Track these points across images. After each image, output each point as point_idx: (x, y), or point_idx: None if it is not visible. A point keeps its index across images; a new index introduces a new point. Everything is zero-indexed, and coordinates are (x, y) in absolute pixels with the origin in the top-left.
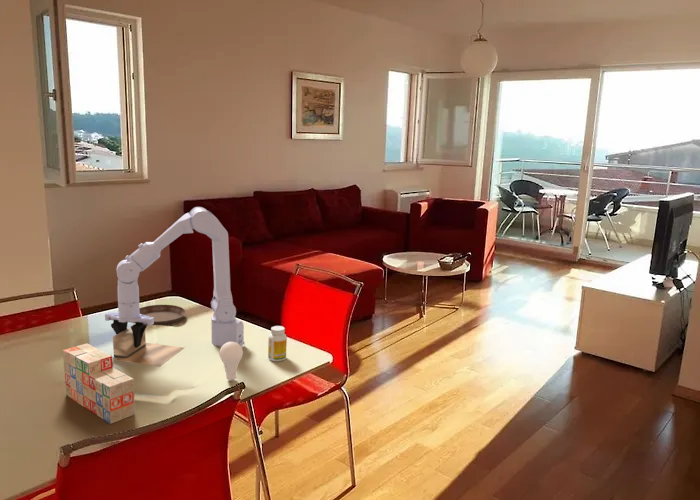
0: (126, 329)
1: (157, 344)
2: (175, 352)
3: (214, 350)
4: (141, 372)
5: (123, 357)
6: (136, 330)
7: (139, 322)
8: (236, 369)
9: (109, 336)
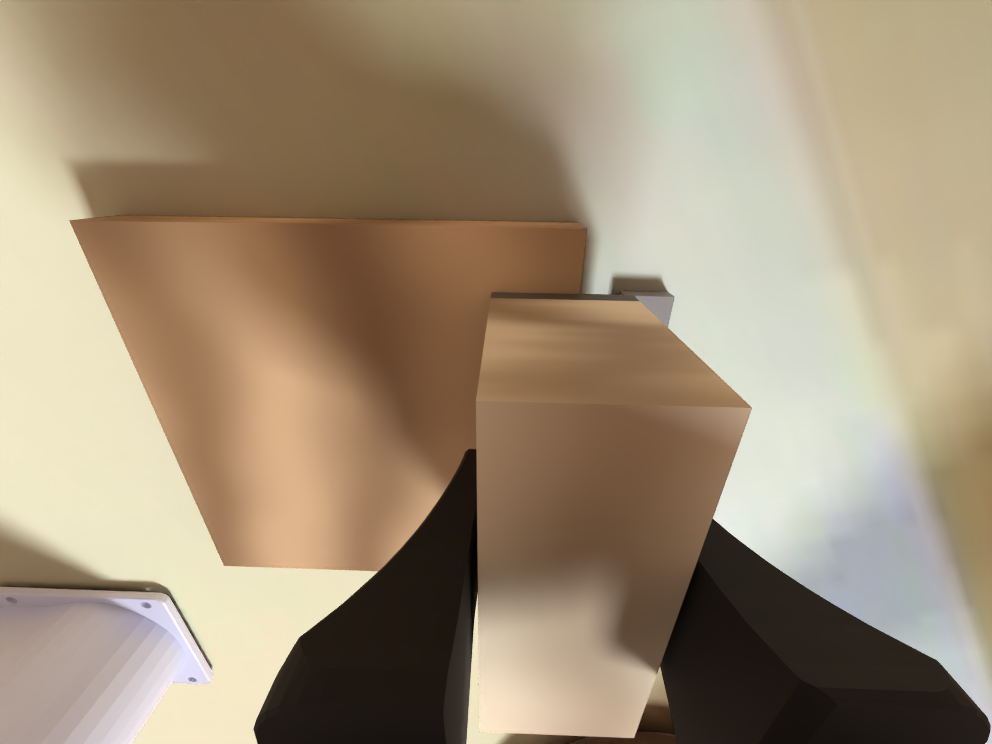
0: (652, 656)
1: None
2: (208, 493)
3: (119, 586)
4: (240, 130)
5: (524, 295)
6: (354, 624)
7: None
8: None
9: None
